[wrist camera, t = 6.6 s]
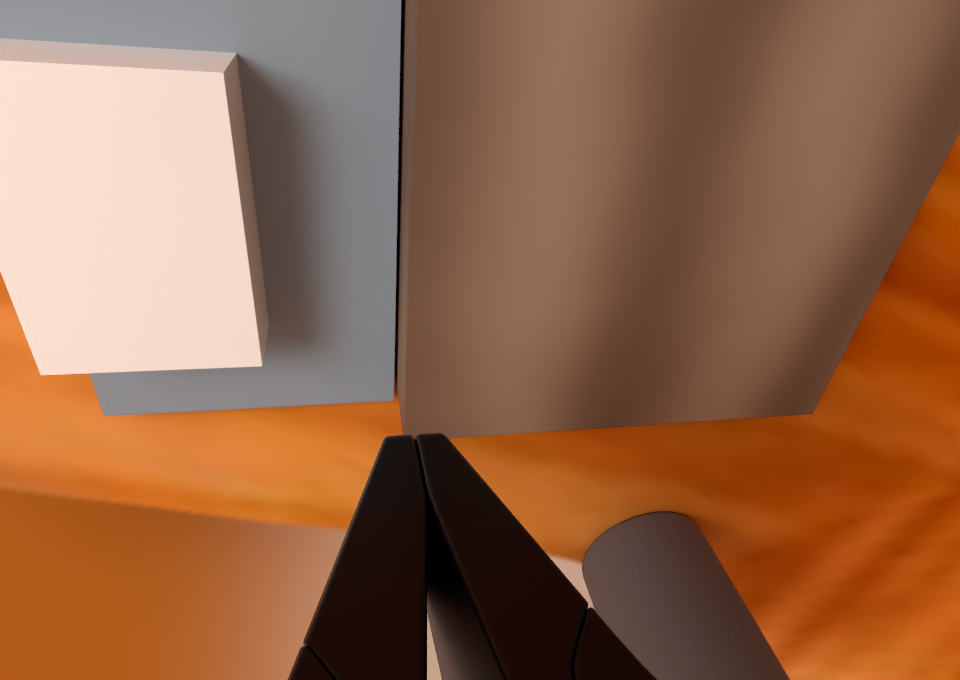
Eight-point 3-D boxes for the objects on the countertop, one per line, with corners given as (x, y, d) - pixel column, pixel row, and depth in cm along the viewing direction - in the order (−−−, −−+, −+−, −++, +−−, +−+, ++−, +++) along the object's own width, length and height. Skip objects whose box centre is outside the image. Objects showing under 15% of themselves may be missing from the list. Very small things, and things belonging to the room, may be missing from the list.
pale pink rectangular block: (-84, 55, 11) (-29, 36, 12) (41, 375, 15) (70, 328, 16) (223, 72, 12) (236, 52, 13) (262, 366, 16) (268, 323, 17)
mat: (400, -94, 13) (402, -94, 12) (392, 388, 20) (394, 400, 20) (-66, -148, 11) (-84, -150, 11) (110, 402, 18) (104, 415, 18)
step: (921, -9, 16) (1026, 5, 14) (761, 360, 23) (812, 413, 20) (404, -65, 13) (420, -59, 11) (395, 376, 20) (404, 441, 17)
